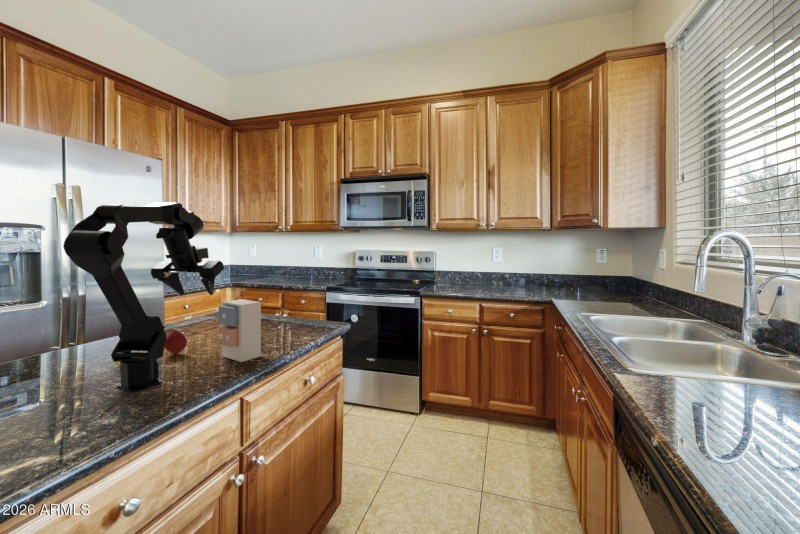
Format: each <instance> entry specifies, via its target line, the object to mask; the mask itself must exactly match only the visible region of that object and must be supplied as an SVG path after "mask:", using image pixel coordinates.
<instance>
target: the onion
mask: <svg viewBox="0 0 800 534" xmlns="http://www.w3.org/2000/svg"><path fill="white" fill-rule="evenodd" d="M187 344H188V339H187V337H186V336H185V334H184V333H183V332H181V331H179V330H178V329H177V328H176V327H174V328H173V329H172V332H170V333H169V334H167V335H166V343H165V348H164V350H166V351H168V352H169V353H170V354H171V355H174V356H177V355H178V354H180V353H181V352H182V351H184V349H186V347H187V346H188V345H187Z"/></svg>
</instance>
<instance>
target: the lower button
mask: <svg viewBox="0 0 800 534" xmlns="http://www.w3.org/2000/svg"><path fill="white" fill-rule="evenodd" d="M218 344H219V345H221V346H222V345H225V346H228V347H235V346H239V341H238V328H237V327H232V326H228V325H225V326H222V325H221V326H218Z"/></svg>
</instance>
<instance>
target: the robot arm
mask: <svg viewBox="0 0 800 534" xmlns="http://www.w3.org/2000/svg"><path fill="white" fill-rule="evenodd" d="M183 205H184V204H182V203H180V202H164V201H163V202H162V201H159V202H158V201H155V202H151V203H147V204H146V205H144V206H143V205H142V206H141V205H136V206H135V205H124V204H107V203H106V204H104V203H103V204H101V205H99V206H97V207H96V208H95V210H94V211H93V212H92V214H90V215H89V216H86V218H83V219H82V220H81V221H79V222H78V223H76V224H75V226H74V227H73V228H72V229H71V231H70V232H69V234H67V236H66V237H65V239H64V242H63V247H62V248H63V249H64V252H65V254H66V255H67V256H68V257H69V259H70V260H71V261H72V262H73V263H74V264H75V266H76V267H79V268H80V269H82V270H83V271H84V272H87V273H88V274H90V275H91V276H93V279H94V280H95V281H96V283H97V285H98V287H99V289H100V291H101V293H102V294H103V296H104V297H105V299H106V301H107V302H108V304H109V307H110V308H111V309H112V311H113V313H114V315H115V316H116V318H117V320H118V322H119V323H120V325H121V326H120V330H119V332H118V338H119V340H118V342H117V344H116V345H115V347H114V349H113V350H112V352H111V354H110V356H111V359H112V361H113V362H112V363H114V362H115V363H116V362H117V361H120V366H119V368H120V369H119V371H120V372H119V373H120V382H119V383H117V384H116V387H117V388H120V389H122V390H126V391H128V392H132V393H133V392H137V391H139V390H143V389H146V388H149V387H152V386H154V385H158V384H161V383H162V380H161V379H159V377H160V375H159V374H160V371H159V369H160V367H159V365H160V364H159V362H158V361H157V360H158V359H161V358H162V357H163V356H164V354H165V353H164V351H165V343H166V337H167V334H166V331H165V329H166V327H165V325H163V323H162V320H161V318H160V316H158V315H147V314H146V312H145V310H144V308H143V307H142V304H141V302H140V300H139V298H138V296H137V294H136V293H135V291H134V288H133V287H132V285H131V283H130V281H129V278H128V277H127V275H126V273H125V271H124V269H123V266H122V264H123V261H124V257H125V251H124V248H123V247H124V245H125V244H126V242H127V240H128V239H129V233H128V231H129V230H128V227H127V226H128V225H129V223H147V222H148V223H150V224H154V225H168V226H166V227H159V229H158V231H157V233H156V236H155V238H156V239H158V240H159V239H162V241H163V243H164V245H165V248H166V250H167V253H166V254H165V257H166V259H170V260H161V261H160V262H158V263H157V264H155V266H153V267H151V268H150V274H151V277H152V279H153V280H154V279H155V280H156V279H157V281H158V282H162V283H163V284H164V285H166V286H168V287H170V288H171V289H172V290H173V291H174V292H176V293H177V294H179V295H180V296H184V294H185V290H184V287H183V284H182V282H181V279H180V276H179V275H180V274H179V273H181V274H183V273H185V274H186V273H198V274H199V276H200V282H202V285H203V286H204V287H205V289H206V292H207V293H208V294H209V295H210V296H213V295H214V292H215V282H216V278H217V276H218V275H219V274H221V273H222V272H223V271H224V270H225V265H224V263H223V262H222V261H220V260H207V261H206V262H205V263H204V264H203V265H199V264H201V263H202V262H203V259H209V258H210V257H209V249H208V247H196V246H195V245H191V242H190V240H191V239H193V238H194V237H196V236H197V234H199V233H200V232H201V231H202V230H203V229H204V227H205V226H204V225H205V224H204V221H203V220H202V219H201V218H200V217H199V216H198V215H196V214H195V211H193V210H187V209H186V208H185V207H184V206H183ZM107 224H108V225H109V224H113V225H114V228H113V229H112V230H111V231H108V230H102V229H103V228H105V227H106V226H107ZM138 351H142V353H140V352H138Z"/></svg>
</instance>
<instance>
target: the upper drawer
mask: <svg viewBox="0 0 800 534" xmlns="http://www.w3.org/2000/svg"><path fill="white" fill-rule="evenodd" d="M218 324H221V325H222V324H224V325H228V326H235V325H238V307H234V306H229V305H223V306H222V305H218Z"/></svg>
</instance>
